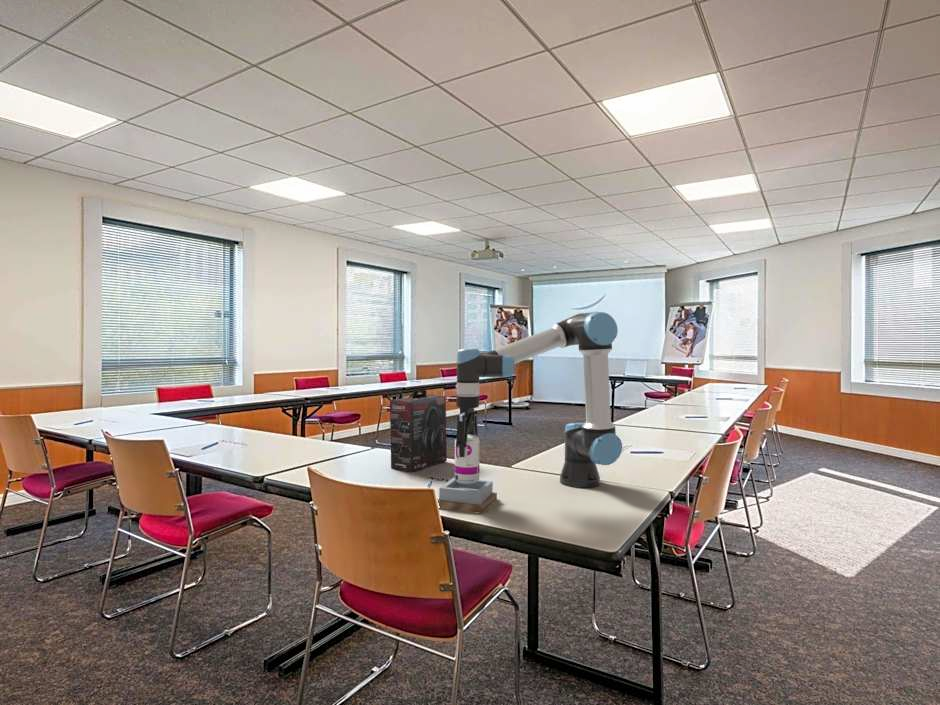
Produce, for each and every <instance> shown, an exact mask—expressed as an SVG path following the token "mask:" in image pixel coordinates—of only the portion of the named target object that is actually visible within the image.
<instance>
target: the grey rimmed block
mask: <svg viewBox="0 0 940 705" xmlns="http://www.w3.org/2000/svg"><path fill="white" fill-rule="evenodd" d="M493 483H494V482H493V481H491V480H483V479H479V480H478V481H477V482H476V483H472V484H462V483H458V482H457V481H456V480H455V477H452V478H451V479H450V480H448V481H447V482H446V483H444V484H443V485H441V486H440V487H439V494H438V495H439V498H438V499H439V500H442V501H451V502H459V503H468V504H477V505H481V504H482V503H483V502H484V501H485V500H486V499H487V498H488V497H489V496H490V495H491V494H492V492H493V488H494V487H493Z"/></svg>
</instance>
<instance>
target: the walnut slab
mask: <svg viewBox="0 0 940 705" xmlns="http://www.w3.org/2000/svg"><path fill="white" fill-rule="evenodd" d="M496 499H497V500H498V494H497V492H494V491H492V494H491V495H490V496H489V497H488V498H487V499H486V500H485V501H484V502H483V503H482V504H481V505H477V504H468V503H459V502H451V501H442V500H439V498H438V499H437V500H438V503H439V506H440V509H441V508H442V509H441V510H448V509H449V511H456V510H460V511H459V512H465V511H468V513H474V512H479V513H478V514H484V513H485V512H486V511H487V510H488V509H489V508H490V507H491V506H492V505H493V504H494V503H495V502H496V501H497V500H496ZM495 500H496V501H495ZM494 501H495V502H494ZM493 502H494V503H493ZM492 503H493V504H492ZM491 504H492V505H491ZM490 505H491V506H490ZM489 506H490V507H489ZM488 507H489V508H488ZM487 508H488V509H487ZM486 509H487V510H486ZM485 510H486V511H485ZM484 511H485V512H484Z"/></svg>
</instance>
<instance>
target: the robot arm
mask: <svg viewBox="0 0 940 705" xmlns="http://www.w3.org/2000/svg"><path fill="white" fill-rule="evenodd" d="M617 337H618V325H617V322H616V320H615V319H614V317H612V315H611V314H609V313H607V312H603V311H591V312H585V313H584V312H583V313H581V312H580V313H577V314H574V315H572V316H570V317H568V318H566V319H564V320H561V321H558V322H556V323H554V324H552V326H551V328H548V329H546V330H543V331H541V332H538V333H535V334H531V335H529V336H527V337H525V338H522V339H519V340H516V341H513V342H511V343H508V344H506V345H503V346H501V347H497V348H496V349H493V350H490V351H487V352H484V353H480V352H481V351H480V349H478V348H477V349H476V348H461V349H460V348H459V349H458V350H457V355H456V385H455V388H456V395H457V396H456V402H455V403H456V405H455V406H456V407H457V408H459V409H461V410H460V414H457V415H456V417H457V424H456V438H455V440H456V447H459V456H458V467H467V447H466V443H467V436H468V434H472V435H477V436H478V437H479V428H478V426H479V425H478V410H476V409H477V408H479V407H480V397H479V395H480V378H503V379H505V378H510V377H512V376H513V375H514V373H515V367H516V366H515V365H516V364H519V363H521V362H522V361H526V360H528V359H531V358H533V357H536V356H539V355H541V354H544V353H547V352H548V351H552V350H554V349H557V348H560V349H565V348H567V347H570V346H578V351H579V352H580V353H581V355H582V356H583V376H584V379H583V380H584V401H585V422H572V423H570V422H569V423H566V424H565V428H564V463H563V466H562V469H561V471H560V474H559V482H560V484H562V485H565V486H568V487H573V488H574V487H575V488H594V487H598V486H600V484H601V477H600V472H599V471H598V467H597V465H601V466H609V465H612V464H614V463H615V462H616V461H617V460H618V459H619V458H620V456H621V454H622V452H623V442H622V440H621V438H620V437H619V436H618V435H617V434H616V433H617V432H616V425H615V424H614V423H613V422H612V420H611V399H610V398H611V397H610V394H611V393H610V373H609V353H611V351H612V350H613V342H614V341H615V339H616V338H617Z"/></svg>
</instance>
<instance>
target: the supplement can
mask: <svg viewBox="0 0 940 705" xmlns="http://www.w3.org/2000/svg"><path fill="white" fill-rule="evenodd" d="M480 444H481V441H480V439H479V435H478V436H477V435H472V434H468V436H467V443H466V447H467V467H458V456H459V447H456V439H455V440H454V478H455V480H456V481H457V482H458V483H462V484H472V483H476V482H477V481H478V480H480V459H481V458H480V454H481V453H480Z"/></svg>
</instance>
